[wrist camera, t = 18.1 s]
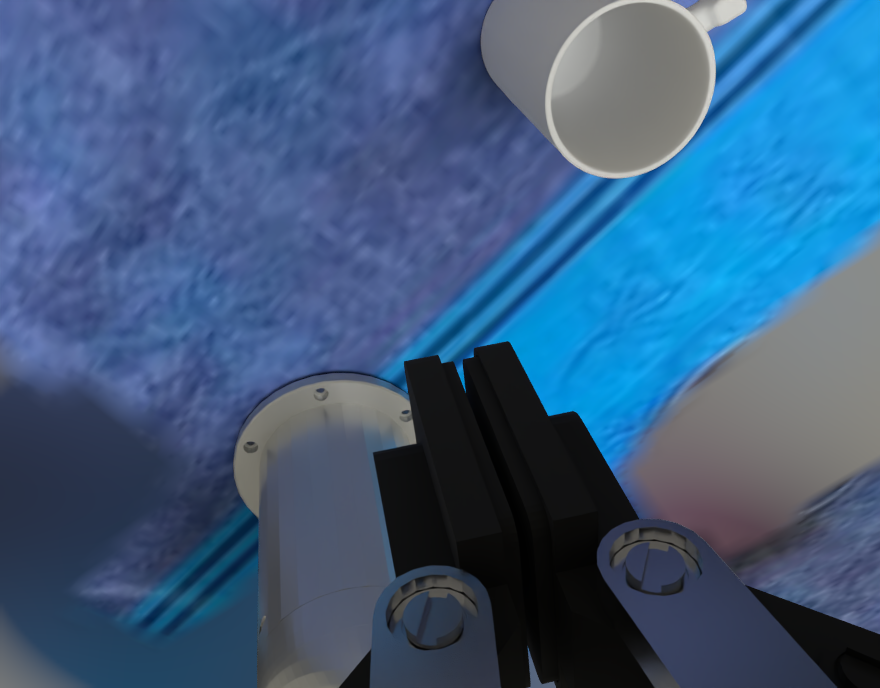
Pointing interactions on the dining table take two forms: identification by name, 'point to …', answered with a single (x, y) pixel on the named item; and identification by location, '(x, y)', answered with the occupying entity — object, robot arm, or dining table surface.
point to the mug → (607, 74)
